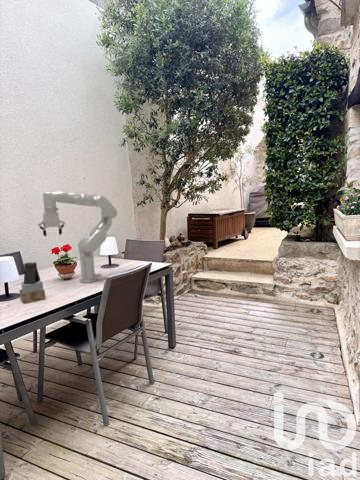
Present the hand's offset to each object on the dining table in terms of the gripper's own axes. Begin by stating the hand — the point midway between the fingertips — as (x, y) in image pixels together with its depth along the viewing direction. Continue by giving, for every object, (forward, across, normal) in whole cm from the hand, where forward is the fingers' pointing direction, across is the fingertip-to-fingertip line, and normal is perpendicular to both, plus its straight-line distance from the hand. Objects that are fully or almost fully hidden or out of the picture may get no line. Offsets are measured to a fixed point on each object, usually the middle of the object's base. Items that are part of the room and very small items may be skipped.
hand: (52, 235), depth 205 cm
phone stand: (+26, +19, +18) cm, 36 cm away
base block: (+36, +19, +18) cm, 45 cm away
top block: (+30, +19, +18) cm, 40 cm away
